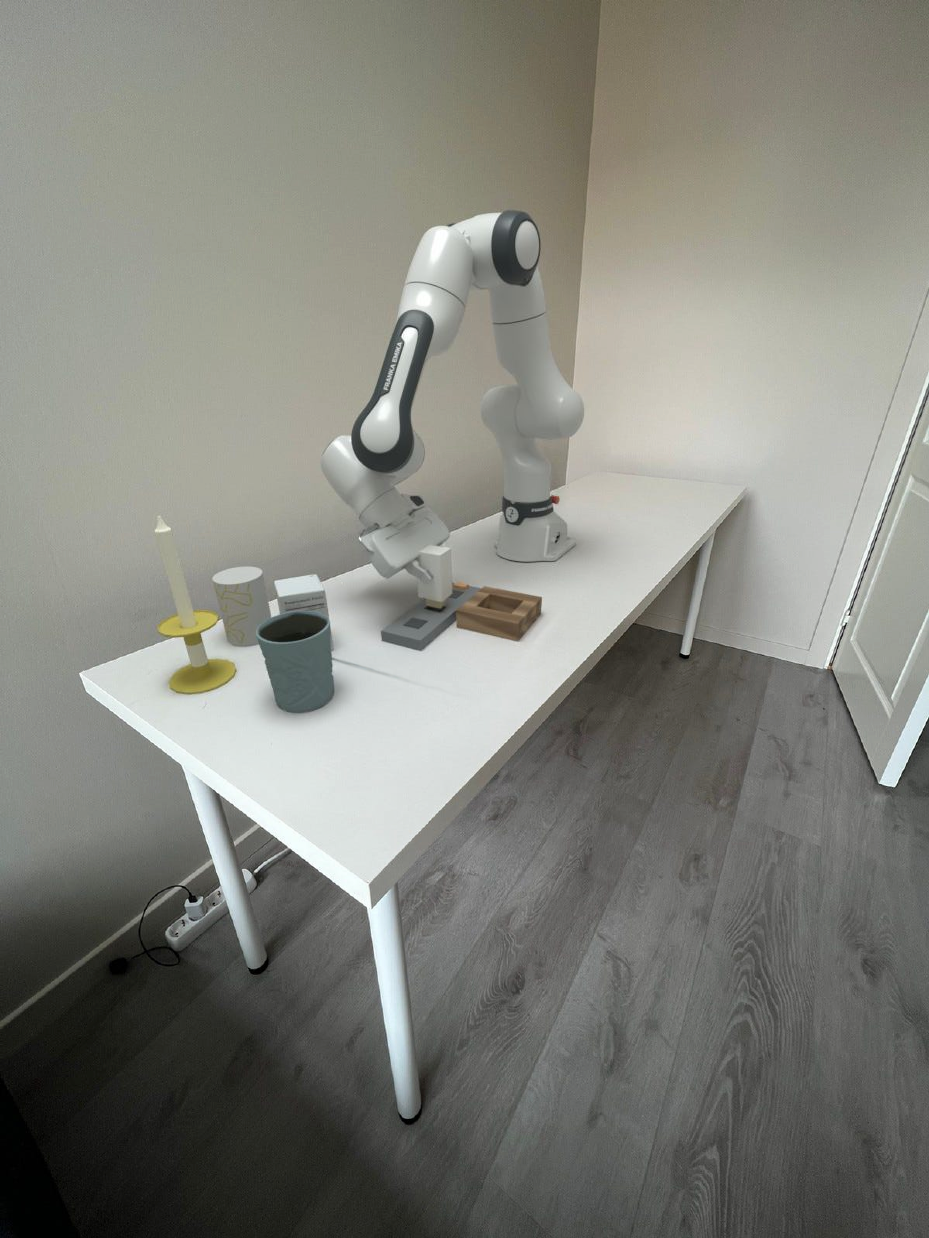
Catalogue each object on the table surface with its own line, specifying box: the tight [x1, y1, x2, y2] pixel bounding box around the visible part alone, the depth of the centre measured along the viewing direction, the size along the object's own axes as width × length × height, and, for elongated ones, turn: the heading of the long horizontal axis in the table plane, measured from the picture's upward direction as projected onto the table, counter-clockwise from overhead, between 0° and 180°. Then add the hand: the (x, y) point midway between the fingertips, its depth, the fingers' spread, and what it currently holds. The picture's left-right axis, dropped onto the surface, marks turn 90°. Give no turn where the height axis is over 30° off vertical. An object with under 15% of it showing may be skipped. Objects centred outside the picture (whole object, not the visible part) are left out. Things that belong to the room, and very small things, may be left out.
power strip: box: [380, 581, 483, 652], centre depth 101 cm, size 24×8×4 cm, turn 153°
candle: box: [154, 512, 237, 695], centre depth 80 cm, size 10×10×27 cm
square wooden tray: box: [455, 585, 543, 643], centre depth 99 cm, size 12×12×4 cm
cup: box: [212, 566, 272, 648], centre depth 95 cm, size 8×8×12 cm
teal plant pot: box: [256, 611, 335, 714], centre depth 78 cm, size 10×10×12 cm
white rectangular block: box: [416, 545, 453, 609], centre depth 98 cm, size 4×5×11 cm
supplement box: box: [273, 573, 335, 652], centre depth 90 cm, size 7×7×13 cm
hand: (437, 576), depth 97 cm, fingers closed on white rectangular block, 4 cm apart
